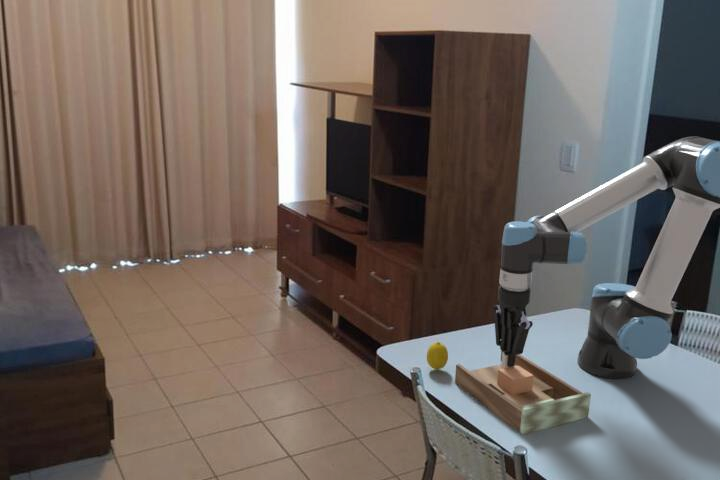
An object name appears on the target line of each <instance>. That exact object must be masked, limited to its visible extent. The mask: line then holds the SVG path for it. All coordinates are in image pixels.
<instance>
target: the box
mask: <svg viewBox="0 0 720 480" xmlns="http://www.w3.org/2000/svg"><path fill="white" fill-rule="evenodd" d="M514 366H520V367H521V368H523V369H525V370H526V371H528V372H529V373H531V374H532V375H534V377H533V388H532V391H528V392H523V393H519V394H514V395H511V394H510V393H509V392H507V391H506V390H504V389H503V388H502V387H500V386H499V385H497V379H498V369H501V363H500V364H496V365H491V366H487V367H482V368H481V367H480V368H477V369H472V370H469V369H467V367H465V366H463V365H461V364H460V363H457V364H456V365H455V376H454V378H455V379H454V384H456V385H457V386H459V387H460V388H461V389H463V390H464V391H465V392H466V393H467V394H469V396H470V395H471V396H472V397H473V398H475V400H477V401H478V402H479V403H481V404H482V405H484V406H485V407H486V408H487V409H488V410H490V411H491V412H493V413H494V414H495V415H497V416H498V417H499V418H501V419H502V420H503V421H504V422H506V423H507V424H508V425H509V426H511V427H513V428H514V429H515V430H516V431H517V432H519V433H520V434H522V435H526V434H527V435H528V434H530V433H533V432H537V431H542V430H545V429H549V428H553V427H556V426H560V425H564V424H567V423H572V422H576V421H578V420H579V421H580V420H583V419H587V418H589V414H590V406H591V398H592V394H591V393H590V392H588V391H586V392H582V391H580V390H579V389H577V388H575V387H574V386H572V385H571V384H569V383H567V382H565V380H562V379H560V378H559V377H557V376H556V375H554V374H552V373H551V372H549V371H548V370H546V369H545V368H543V367H541V366H539V365H538V364H536V363H534V362H533V361H531V360H530V359H528V358H527V357H525V356H523V355H522V354H518V355H516V358H515V365H514Z"/></svg>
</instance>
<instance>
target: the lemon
mask: <svg viewBox="0 0 720 480" xmlns="http://www.w3.org/2000/svg"><path fill="white" fill-rule="evenodd" d="M426 351H427V352H426V361H427V364H428V365H429V367H430V368H432V369H433V370H435V371H439V370H441V369H442V368H443V369H444V367H446V365H447V363H448V360H449V353H448V349H447V347H446V345H445V344H443V343H441V342H439V341H437V342H433V343H432V344H430V346H429V347H428V349H427V350H426Z"/></svg>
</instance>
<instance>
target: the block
mask: <svg viewBox="0 0 720 480" xmlns="http://www.w3.org/2000/svg"><path fill="white" fill-rule="evenodd" d="M533 377H534V375H532V374H531V373H529V372H528V371H526V370H525V369H523V368H521V367H520V366H513V367H508V368H503V369H498V379H497V385H499V386H500V387H502V388H503V389H504V390H506V391H507V392H509V393H510V394H511V395H514V394H519V393H523V392H528V391H532V388H533Z"/></svg>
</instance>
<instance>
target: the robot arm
mask: <svg viewBox="0 0 720 480" xmlns="http://www.w3.org/2000/svg"><path fill="white" fill-rule="evenodd" d="M672 186H673V187H672ZM671 187H672V191H673V194H674V195H675V199H674V201H673V203H672V205H671V208H670V210H669V211H668V214H667V216H666V219H665V221H664V222H663V225H662V228H661V230H660V231H659V234H658V236H657V239H656V241H655V243H654V245H653V247H652V250H651V251H650V254H649V256H648V259H647V260H646V263H645V265H644V267H643V270H642V272H641V274H640V277H639V278H638V281H637V283H636V285H635V286H634V285H631V284H625V283H614V282H606V283H598V284H596V285H595V286H594V288H593V289H592V295H591V300H590V301H591V302H590V310H589V320H588V329H587V336H586V338H585V339H584V342H583V343H582V344H583V345H582V347H581V349H580V350H579V352H578V356H577V364H578V366H579V367H580V368H581V369H582V370H584V371H585V372H588V373H589V374H592V375H594V376H597V377H601V378H607V379H627V378H630V377H633V376H634V375H635V374H636V373H637V368H638V360H637V359H639V360H645V359H647V360H648V359H652V358H653V357H656V356H659V355H661V354H662V353H663V352H664V351H666V350H667V348H668V347H669V345H670V343H671V341H672V331H671V327H670V325H669V322H670V320H671V319H672V316H673V314H674V310H673V309H674V308H673V307H672V305H671V302H672V300H673V297H674V295H675V293H676V292H677V289H678V287H679V285H680V282H681V281H682V278H683V276H684V273H686V270H687V268H688V266H689V263H690V262H691V259H692V257H693V254H694V253H695V251H696V249H697V247H698V244H699V241H700V240H701V238H702V236H703V233H704V231H705V230H706V227H707V224H708V222H709V221H710V219H711V216H712V215H713V212H714V211H715V210H718V209H720V140H714V139H710V138H705V137H702V136H687V137H682V138H680V139H676V140H675V141H672V142H670V143H668V144H666V145H664V146H662V147H660V148H658V149H657V150H654V151H652V152H651V153H649V154H647V155H646V156H644V157H643V158H642V162H640V163H639V164H637V165H636V166H634V167H632V168H629V170H627V171H624V172H623V173H621V174H619V175H617V176H615V177H614V178H612V179H610V180H609V181H607V182H605V183H603V184H601V185H598V186H597V187H596V188H594V189H592V190H590V191H588V192H587V193H585V194H584V195H581V196H580V197H577V198H576V199H574V200H573V201H570V202H569V203H567V204H566V205H564V206H561V207H560V208H558V209H556V210H554V211H552V212H550V213H548V214H546V215H544V216H543V215H535V216H533V217H530V218H529V219H528V220H527V221H522V220H521V221H510V222H508V223H506V224H505V225H504V228H503V234H502V240H501V258H500V270H499V279H498V280H499V282H498V283H499V285H498V287H497V288H498V290H497V291H498V292H497V300H498V302H499V304H498V305H493V306H492V312H493V315H494V317H493V318H494V331H495V332H494V333H495V344H496V346H499V349H500V352H501V353H500V364H501V369H503V368H508V367H513V366H514V365H515V358H516V355H518V354H520V355H522V354H523V352H524V349H525V345H526V342H527V338H528V335H529V332H530V329H531V328H532V326H533V324H534V323H533V321H532V320H528V318H527V310H526V307H527V305H528V304H530V298H531V287H532V282H533V281H532V280H533V270H534V267H533V266H534V264H548V265H549V264H551V265H558V264H559V265H567V266H568V265H575V264H581V263H583V262H584V261H585V259H586V256H587V250H588V243H587V238H586V237H585V235H584V234H583V233H582V232H580V231H582V230H584V229H586V228H588V227H590V226H592V225H593V224H595V223H597V222H599V221H601V220H603V219H605V218H606V217H608V216H610V215H612V214H614V213H615V212H617V211H619V210H621V209H623V208H625V207H626V206H629V205H631V204H632V203H634V202H637V201H638V200H639V199H641V198H644V197H645V196H647V195H649V194H651V193H652V192H655V191H656V190H661V191H665V190H666V189H669V188H671Z"/></svg>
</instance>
